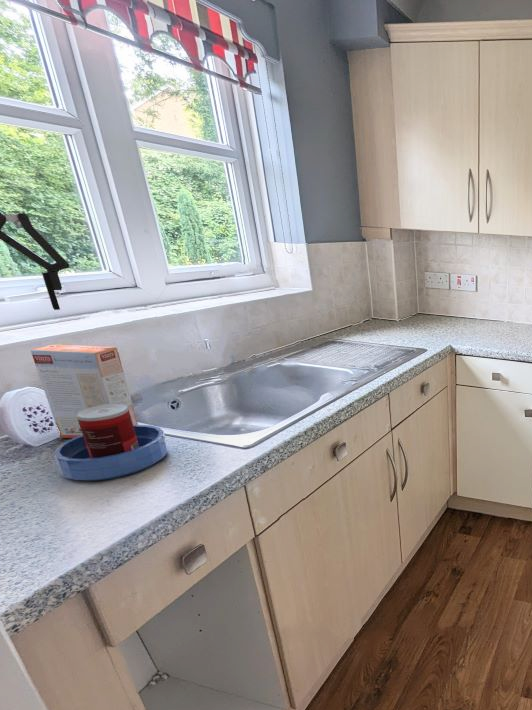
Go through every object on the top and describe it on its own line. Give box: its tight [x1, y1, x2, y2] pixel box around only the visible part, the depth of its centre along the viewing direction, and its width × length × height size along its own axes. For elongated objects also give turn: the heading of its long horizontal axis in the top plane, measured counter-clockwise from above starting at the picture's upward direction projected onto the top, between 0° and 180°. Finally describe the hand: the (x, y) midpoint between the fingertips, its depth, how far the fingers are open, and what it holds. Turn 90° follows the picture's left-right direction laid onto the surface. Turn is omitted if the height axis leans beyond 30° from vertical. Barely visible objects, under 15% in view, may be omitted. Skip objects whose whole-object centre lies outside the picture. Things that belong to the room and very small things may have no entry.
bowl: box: [53, 424, 169, 482], centre depth 93 cm, size 17×17×5 cm
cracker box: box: [30, 343, 139, 439], centre depth 102 cm, size 14×6×21 cm, turn 88°
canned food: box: [77, 404, 139, 458], centre depth 92 cm, size 8×8×11 cm
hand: (1, 312), depth 79 cm, fingers open, 13 cm apart
